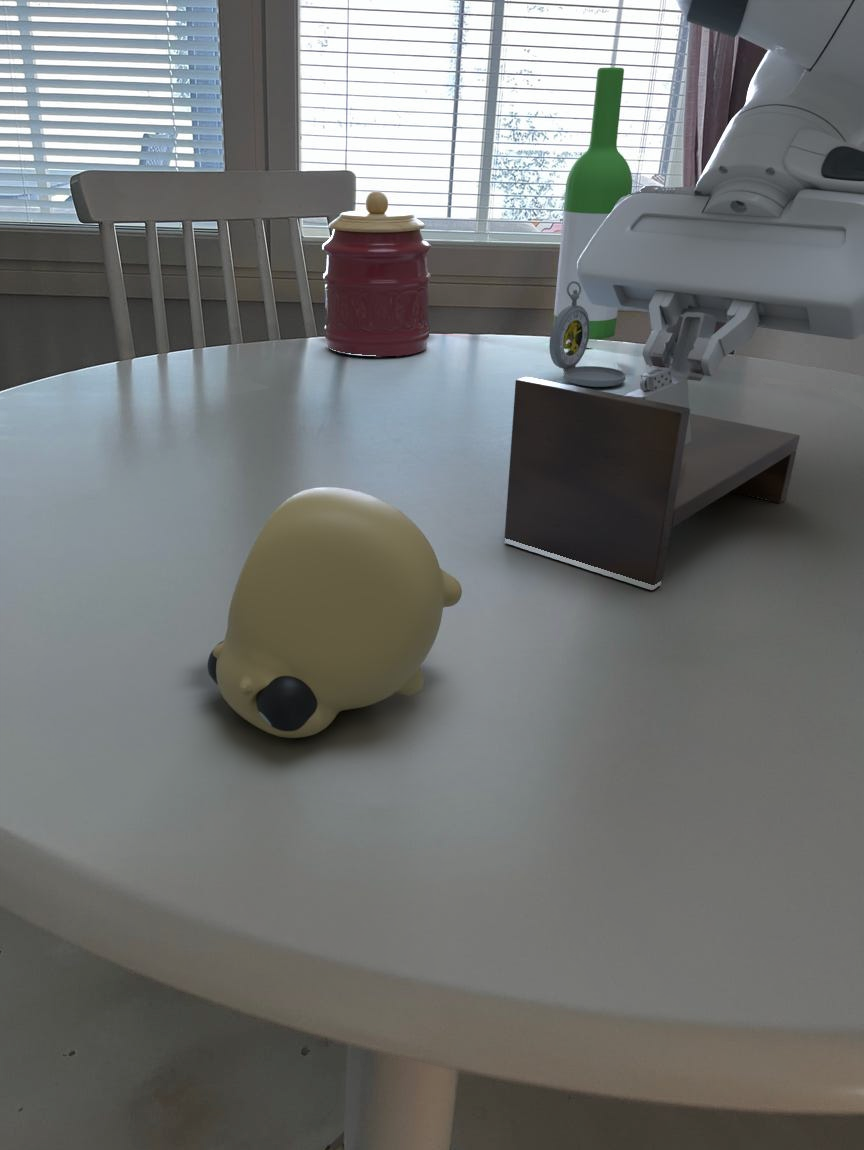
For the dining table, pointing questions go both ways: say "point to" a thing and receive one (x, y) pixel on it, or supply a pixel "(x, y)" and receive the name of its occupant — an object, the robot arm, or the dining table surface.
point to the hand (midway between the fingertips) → (676, 365)
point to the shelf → (626, 473)
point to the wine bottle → (593, 199)
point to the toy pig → (330, 612)
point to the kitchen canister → (377, 282)
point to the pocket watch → (578, 347)
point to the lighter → (677, 366)
